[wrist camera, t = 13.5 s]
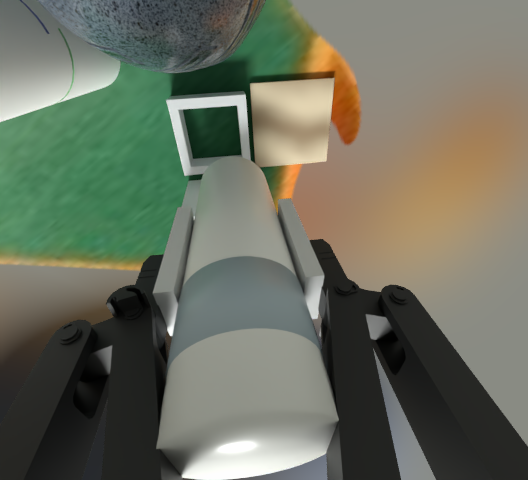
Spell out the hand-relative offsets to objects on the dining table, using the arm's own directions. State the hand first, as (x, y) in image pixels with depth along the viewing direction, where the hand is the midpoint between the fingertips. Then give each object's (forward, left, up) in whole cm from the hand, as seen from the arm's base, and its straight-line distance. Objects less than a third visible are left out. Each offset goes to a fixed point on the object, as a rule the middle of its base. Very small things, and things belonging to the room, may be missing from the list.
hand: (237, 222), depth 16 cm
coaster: (0, +8, -22) cm, 23 cm away
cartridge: (0, 0, -5) cm, 5 cm away
